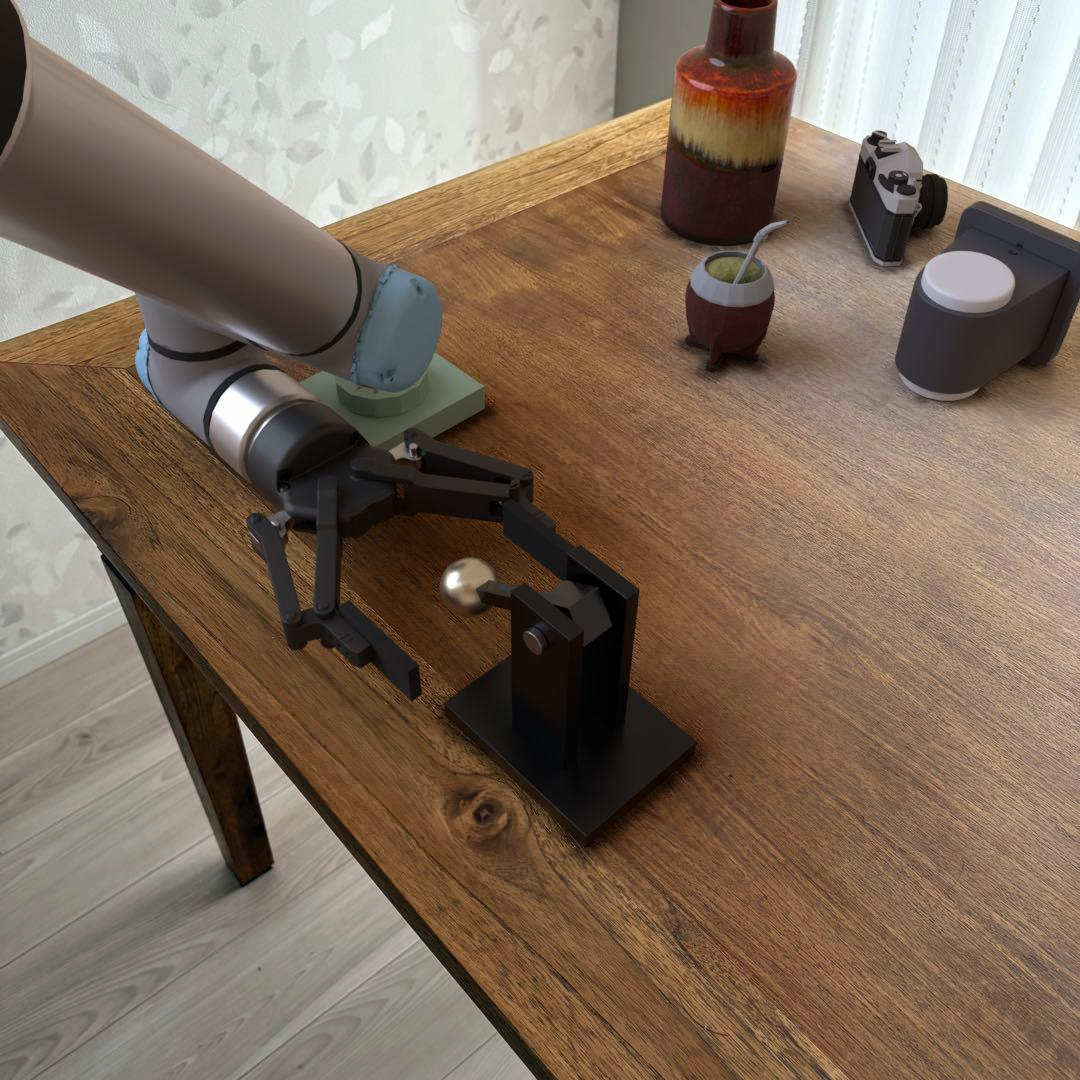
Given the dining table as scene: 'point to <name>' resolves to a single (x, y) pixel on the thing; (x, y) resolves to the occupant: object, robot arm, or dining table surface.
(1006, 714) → the dining table surface
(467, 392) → the button box
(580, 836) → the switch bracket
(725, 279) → the mate gourd
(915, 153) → the camera
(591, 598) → the switch lever
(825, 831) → the dining table surface
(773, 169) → the vase
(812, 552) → the dining table surface
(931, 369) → the light fixture
